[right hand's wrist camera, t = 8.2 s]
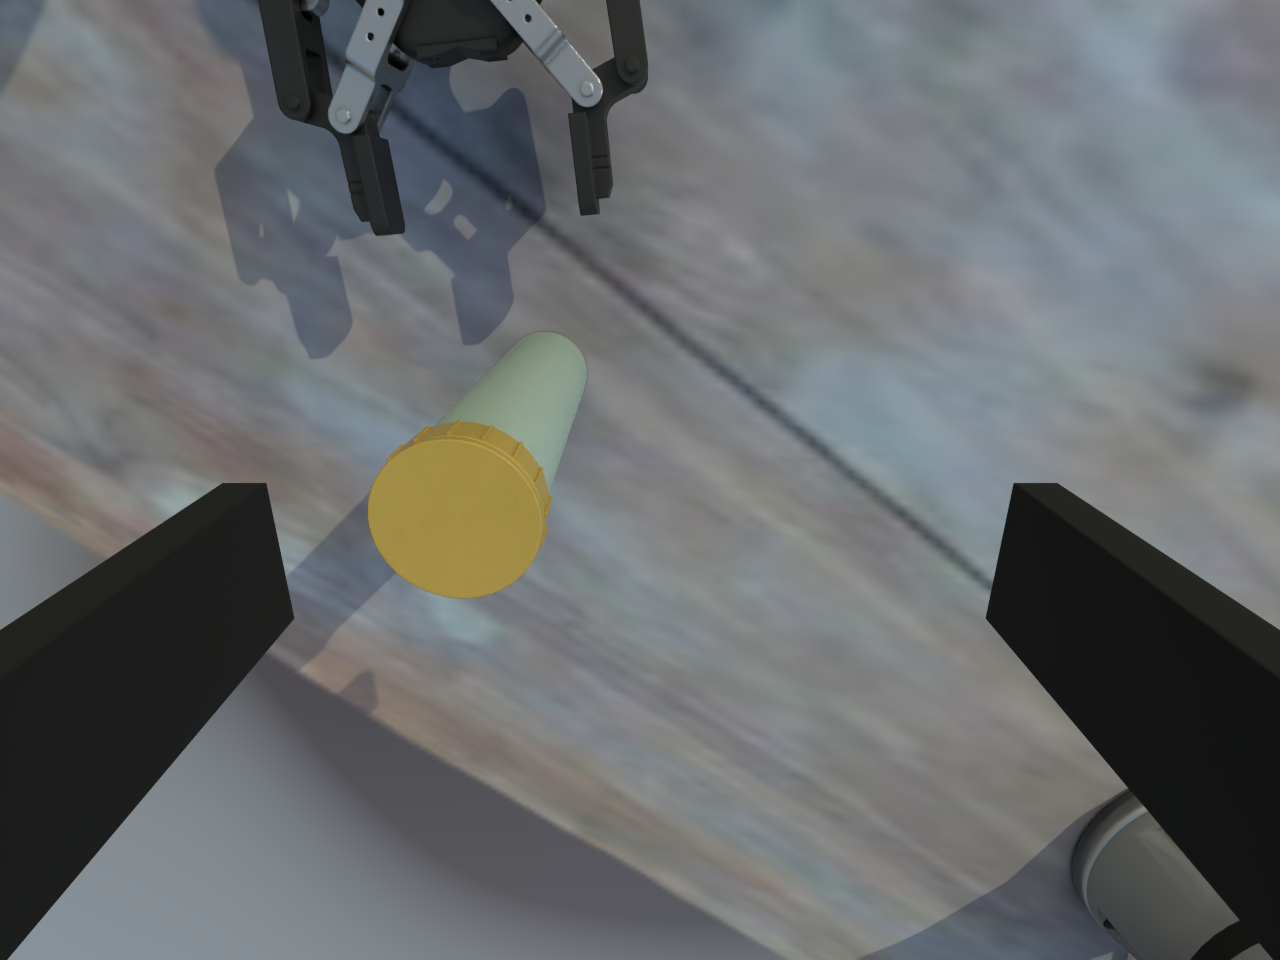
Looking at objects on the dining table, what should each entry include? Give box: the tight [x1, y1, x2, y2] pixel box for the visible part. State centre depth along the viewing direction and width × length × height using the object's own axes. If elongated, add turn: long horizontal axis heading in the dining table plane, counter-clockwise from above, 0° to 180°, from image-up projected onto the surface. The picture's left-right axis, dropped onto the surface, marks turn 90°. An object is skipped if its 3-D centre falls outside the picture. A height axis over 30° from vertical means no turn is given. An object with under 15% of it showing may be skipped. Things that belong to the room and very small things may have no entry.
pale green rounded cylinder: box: [435, 332, 587, 491], centre depth 29 cm, size 4×4×20 cm
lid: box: [368, 419, 552, 598], centre depth 21 cm, size 5×5×2 cm
